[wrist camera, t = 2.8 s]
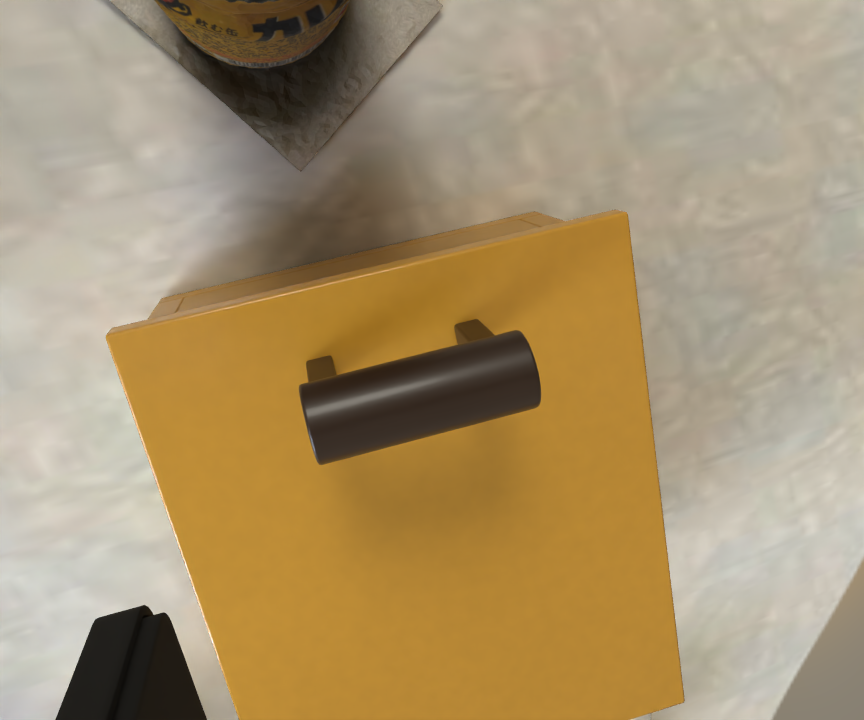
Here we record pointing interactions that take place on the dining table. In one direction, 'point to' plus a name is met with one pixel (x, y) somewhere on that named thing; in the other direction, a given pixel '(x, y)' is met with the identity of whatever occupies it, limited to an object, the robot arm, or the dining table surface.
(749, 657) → the dining table surface
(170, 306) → the open wooden box
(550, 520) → the lid
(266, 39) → the condiment
